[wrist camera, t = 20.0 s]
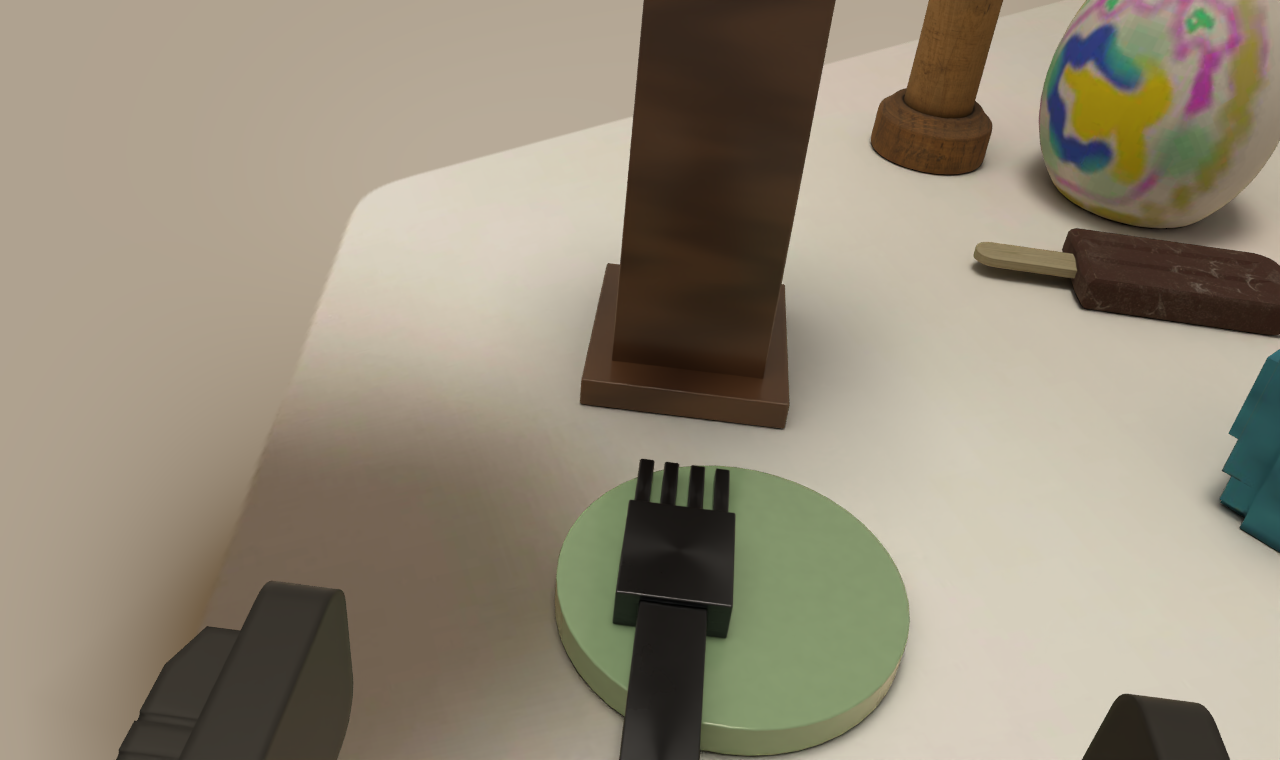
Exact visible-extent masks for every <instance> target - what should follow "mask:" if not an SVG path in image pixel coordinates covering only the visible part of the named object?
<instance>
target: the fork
mask: <svg viewBox="0 0 1280 760" xmlns="http://www.w3.org/2000/svg"><path fill="white" fill-rule="evenodd" d="M653 470H654V460H647V459H641V460H640V464H639V471H638V478H637V485H636V492H635V499H634V500H629V504H628V511H627V517H626V524H625V531H624V538H623V545H622V551H621V558H620V565H619V572H618V578H617V585H616V592H615V601H614V610H613V620H612V622H613V624H619V625H626V626H634V627H636V628H635V636H634V644H633V652H632V660H631V668H630V676H629V684H628V692H627V700H626V709H625V717H624V725H623V733H622V741H621V749H620V757H619V760H699V759H700V741H701V723H702V705H703V687H704V669H705V651H706V636H711V637H718V638H726V637H727V634H728V629H729V624H730V619H731V614H732V609H733V588H734V556H735V524H736V514H735V513H732V512H728V511H729V486H730V470H726V469H719V468H717V469H716V470H715V476H714V484H713V502H712V510H709V509H703V496H704V481H705V467H702V466H694V465H692V466H691V469H690V475H689V486H688V497H687V507H685V506H677V505H675V503H676V493H677V483H678V472H679V464H678V463H671V462H665V465H664V472H663V481H662V489H661V498H660V503H654V502H650V494H651V486H652V478H653Z"/></svg>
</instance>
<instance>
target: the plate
mask: <svg viewBox="0 0 1280 760" xmlns="http://www.w3.org/2000/svg"><path fill="white" fill-rule="evenodd" d="M702 467H705V481H704V496H703V509H709V510H712V502H713V484H714V476H715V470H716V469H717V468H719V469H726V470H730V486H729V511H728V512H732V513H735V514H736V524H735V556H734V588H733V609H732V614H731V619H730V624H729V629H728V634H727V637H726V638H718V637H711V636H706V651H705V669H704V687H703V705H702V723H701V741H700V750H705V751H710V752H716V753H721V754H731V755H745V756H757V755H776V754H782V753H788V752H794V751H799V750H803V749H806V748H810V747H813V746H816V745H820V744H822V743H824V742H827V741H829V740H831V739H833V738H835V737H838V736H840V735H842V734H843V733H845V732H846V731H848V730H849V729H851V728H852V727H854V726H856V725H857V724H859V723H860V722H861V721H862V720H863V719H864V718H865V717H867V716H868V715H869V714H870V713H871V712H872V711H873V710H874V709H875V708H876V707H877V705H878V704H879V703H880V702H881V700H882V699H883V698H884V697H885V695H886V694H887V692H888V690H889V688H890V686H891V684H892V682H893V680H894V678H895V676H896V673H897V670H898V667H899V664H900V661H901V658H902V655H903V652H904V649H905V646H906V643H907V639H908V632H909V624H910V617H909V603H908V599H907V594H906V590H905V586H904V583H903V581H902V578H901V576H900V574H899V571H898V569H897V567H896V565H895V564H894V562H893V560H892V558H891V557H890V555H889V553H888V552H887V551H886V549H885V548H884V547H883V545H882V544H881V543H880V541H879V540H878V539H877V538H876V537H875V536H874V535H873V534H872V533H871V531H870V530H869V529H868V528H867V527H866V526H865V525H864V524H863V523H861V522H860V521H859V520H858V519H857V518H855V517H854V516H853V515H852V514H851V513H849V512H848V511H847V510H845V509H844V508H842V507H841V506H839V505H838V504H836V503H835V502H833V501H832V500H830V499H828V498H827V497H825V496H823V495H821V494H819V493H817V492H816V491H814V490H811V489H809V488H807V487H805V486H802V485H800V484H798V483H796V482H793V481H790V480H787V479H784V478H781V477H778V476H775V475H771V474H767V473H763V472H759V471H755V470H749V469H743V468H737V467H726V466H702ZM690 469H691V466H688V467H679V472H678V483H677V493H676V503H675V505H677V506H685V507H687V497H688V486H689V475H690ZM663 472H664V470H661V471H656V472H653V478H652V486H651V494H650V502H654V503H660V498H661V489H662V481H663ZM637 478H638V477H637ZM637 478H634V479H632V480H630V481H627V482H625V483H623V484H621V485H619V486H617V487H615V488H614V489H612V490H610V491H608V492H606V493H605V494H604V495H602V496H601V497H600V498H598V499H597V500H596V501H595V502H593V503H592V504H591V505H590V506H589V507H588V508H587V509H586V510H585V511H584V512H583V513H582V514H581V515H580V516H579V518H578V519H577V521H576V522H575V523H574V525H573V526H572V527H571V529H570V531H569V533H568V535H567V537H566V539H565V541H564V543H563V545H562V548H561V552H560V555H559V558H558V564H557V573H556V586H555V615H556V622H557V626H558V630H559V634H560V638H561V640H562V642H563V645H564V647H565V650H566V652H567V654H568V656H569V658H570V659H571V661H572V663H573V664H574V666H575V668H576V669H577V671H578V673H579V674H580V675H581V676H582V678H583V679H584V680H585V681H586V682H587V684H588V685H589V686H590V687H591V689H592V690H593V691H594V692H595V693H596V694H598V695H599V696H600V697H601V698H602V699H603V700H604V701H605V702H606V703H607V704H608V705H609V706H611V707H612V708H613V709H615V710H616V711H617V712H619V713H620V714H622V715H623V716H624V717H625V709H626V700H627V692H628V684H629V676H630V668H631V660H632V652H633V644H634V636H635V628H636V627H634V626H626V625H619V624H613V622H612V620H613V610H614V601H615V592H616V585H617V578H618V572H619V565H620V558H621V551H622V545H623V538H624V531H625V524H626V517H627V511H628V504H629V500H634V499H635V492H636V485H637Z"/></svg>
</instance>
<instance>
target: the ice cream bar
mask: <svg viewBox="0 0 1280 760" xmlns="http://www.w3.org/2000/svg"><path fill="white" fill-rule="evenodd" d="M1062 250H1063V252H1056V251H1049V250H1042V249H1035V248H1028V247H1021V246H1014V245H1007V244H1000V243H993V242H981V243H979V244H977V245H976V248H975V252H974V258H975V259H976V260H977V261H978V262H980V263H982V264H984V265H987V266H991V267H997V268H1004V269H1011V270H1018V271H1025V272H1032V273H1039V274H1046V275H1053V276H1060V277H1066V278H1071V280H1072V284H1073V287H1074V291H1075V293H1076V295H1077V297H1078V299H1079V301H1080V303H1081V305H1082V306H1083V307H1084V308H1086V309H1093V310H1100V311H1107V312H1114V313H1121V314H1128V315H1135V316H1141V317H1148V318H1155V319H1162V320H1169V321H1176V322H1183V323H1190V324H1197V325H1204V326H1210V327H1217V328H1224V329H1231V330H1238V331H1245V332H1252V333H1259V334H1266V335H1279V334H1280V266H1279V265H1278V264H1277V263H1276V262H1274V261H1273V260H1271V259H1270V258H1267V257H1264V256H1262V255H1258V254H1255V253H1249V252H1242V251H1235V250H1227V249H1220V248H1213V247H1206V246H1199V245H1192V244H1185V243H1178V242H1171V241H1164V240H1156V239H1149V238H1142V237H1135V236H1128V235H1121V234H1114V233H1107V232H1100V231H1093V230H1085V229H1078V228H1075V229H1071V230H1070V231H1069V232H1068V235H1067V237H1066V240H1065V243H1064V246H1063V249H1062Z"/></svg>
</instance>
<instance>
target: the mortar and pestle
mask: <svg viewBox="0 0 1280 760" xmlns="http://www.w3.org/2000/svg"><path fill="white" fill-rule="evenodd" d="M1002 2H1003V0H929V2H928V7H927V11H926V15H925V19H924V23H923V27H922V31H921V35H920V39H919V43H918V47H917V51H916V55H915V59H914V63H913V67H912V70H911V74H910V78H909V82H908V86H907V88H906V89H902V90H899V91H897V92H896V93H895V94H893V95H891V96H889V97H887V98H885V99H884V100H883V101H882V102H881V103H880V105H879V108H878V111H877V115H876V120H875V123H874V127H873V131H872V135H871V143H872V146H873V148H874V149H875V150H876V151H877V152H878V153H879V154H880V155H881V156H883V157H884V158H886V159H888V160H889V161H891V162H894V163H896V164H899V165H901V166H904V167H907V168H910V169H914V170H918V171H922V172H928V173H935V174H961V173H966V172H970V171H973V170H975V169H976V168H978V167H979V166H980V165H981V164H982V162H983V160H984V157H985V153H986V150H987V146H988V143H989V139H990V136H991V132H992V122H991V120H990V119H989V117H988V116H987V115H986V114H985V113H984V111H983V109H982V107H981V106H980V105H979V104H978V103H977V102H976V101H975V99H976V95H977V92H978V88H979V84H980V81H981V77H982V74H983V70H984V66H985V63H986V59H987V55H988V52H989V48H990V45H991V41H992V37H993V34H994V30H995V27H996V23H997V20H998V16H999V12H1000V9H1001V6H1002Z"/></svg>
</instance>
